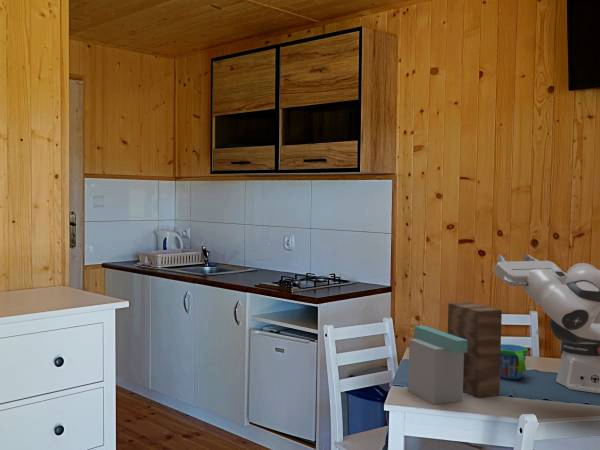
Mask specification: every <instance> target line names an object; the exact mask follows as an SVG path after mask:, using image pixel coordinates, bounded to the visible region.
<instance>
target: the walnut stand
mask: <svg viewBox="0 0 600 450" xmlns="http://www.w3.org/2000/svg"><path fill="white" fill-rule="evenodd" d="M502 313H503V311H502V310H501V309H499V308H493V307H489V306H485V305H481V304H478V303H473V302H470V301H467V302H464V301H463V302H449V303H448V310H447V314H448V315H447V333H448V334H451V335H454V336H457V337H460V338H463V339H466V340H468V343H467V352H466V353H464V369H463V393H466V394H468V395H469V396H472V397H474V398H477V399H479V398H481V399H482V398H489V397H498V396H500V387H501V386H500V384H501V383H500V381H501V377H500V354H501V342H502V319H503V317H502Z"/></svg>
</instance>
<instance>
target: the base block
mask: <svg viewBox="0 0 600 450" xmlns="http://www.w3.org/2000/svg"><path fill="white" fill-rule="evenodd" d="M408 340H409V343H408V381H407V382H408V383H407V385H408V386H407V391H408V392H410V393H412V394H413V395H416V397H419V398H421V399H423V400H424V401H426V402H429V403H430V404H432V405H441V404H448V403H449V404H450V403H457V402H463V401H464V391H463V369H464V353H455V352H452V351H449V350H447V349H444V348H441V347H439V346H436V345H433V344H431V343H428V342H425V341H423V340H420V339H417V338H409V339H408Z"/></svg>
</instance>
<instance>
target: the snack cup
mask: <svg viewBox="0 0 600 450" xmlns="http://www.w3.org/2000/svg"><path fill="white" fill-rule="evenodd" d="M527 354H529V350H528V347H526V346H523V345H518V344H507V343H506V344H501V354H500V378H502V379H504V380H505V379H506V380H514V381H515V380H519V379H522V377H523V374H524V373H525V372H526V367H527V366H526V356H527Z"/></svg>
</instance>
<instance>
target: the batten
mask: <svg viewBox="0 0 600 450" xmlns="http://www.w3.org/2000/svg"><path fill="white" fill-rule="evenodd" d="M413 328H414V329H413V337H414V339H420V340H423V341H425V342H428V343H431V344H433V345H436V346H439V347H441V348H444V349H447V350H449V351H452V352H455V353H466V352H467V343H468V340H466V339H463V338H460V337H457V336H454V335H451V334H448V332H444V331H441V330H439V329H435V328H432V327H429V326H426V325H414V327H413Z"/></svg>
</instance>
